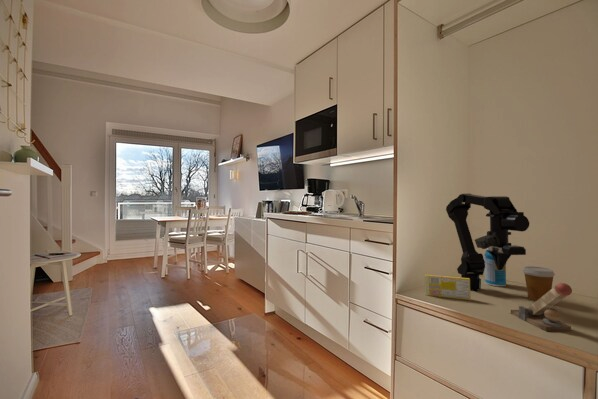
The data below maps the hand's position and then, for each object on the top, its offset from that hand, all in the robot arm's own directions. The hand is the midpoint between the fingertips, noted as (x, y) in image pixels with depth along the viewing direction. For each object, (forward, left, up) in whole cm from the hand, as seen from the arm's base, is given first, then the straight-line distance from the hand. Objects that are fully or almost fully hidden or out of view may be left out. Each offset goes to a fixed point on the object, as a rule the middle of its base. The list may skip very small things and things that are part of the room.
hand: (499, 269), depth 110 cm
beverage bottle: (-7, +25, -12) cm, 29 cm away
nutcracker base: (+13, -14, -12) cm, 22 cm away
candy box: (-16, -9, -12) cm, 22 cm away
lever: (+11, -12, -10) cm, 19 cm away
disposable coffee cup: (+10, +12, -12) cm, 20 cm away
